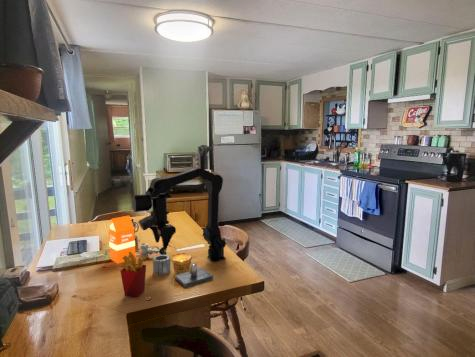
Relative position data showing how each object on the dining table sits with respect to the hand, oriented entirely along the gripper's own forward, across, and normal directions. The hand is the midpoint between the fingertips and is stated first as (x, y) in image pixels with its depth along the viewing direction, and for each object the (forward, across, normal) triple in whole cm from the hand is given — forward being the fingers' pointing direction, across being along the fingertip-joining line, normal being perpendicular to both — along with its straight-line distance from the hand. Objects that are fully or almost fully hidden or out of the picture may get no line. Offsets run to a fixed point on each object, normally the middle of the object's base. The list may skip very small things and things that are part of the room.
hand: (161, 245), depth 126 cm
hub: (+11, 0, 0) cm, 11 cm away
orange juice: (+12, -24, -10) cm, 28 cm away
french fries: (+12, +12, -16) cm, 23 cm away
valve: (+12, -17, +2) cm, 21 cm away
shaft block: (+11, +14, +8) cm, 20 cm away
